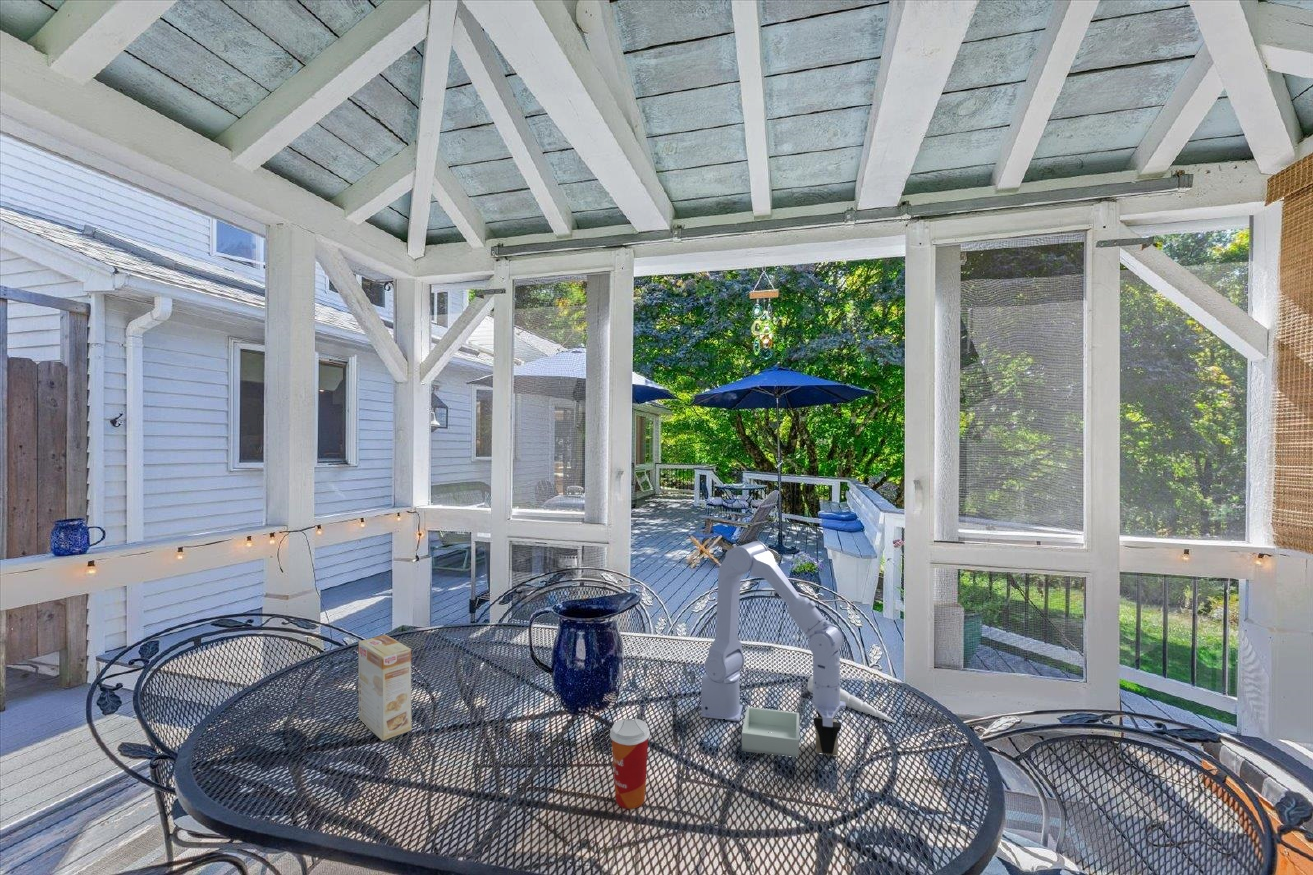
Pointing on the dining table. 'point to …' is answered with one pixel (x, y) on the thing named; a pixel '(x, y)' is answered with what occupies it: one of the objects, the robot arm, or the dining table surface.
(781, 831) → the dining table surface
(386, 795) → the dining table surface
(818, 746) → the birch block
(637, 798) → the paper cup
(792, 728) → the bin
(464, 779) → the dining table surface
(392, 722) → the coffeecake box
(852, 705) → the unicorn horn
